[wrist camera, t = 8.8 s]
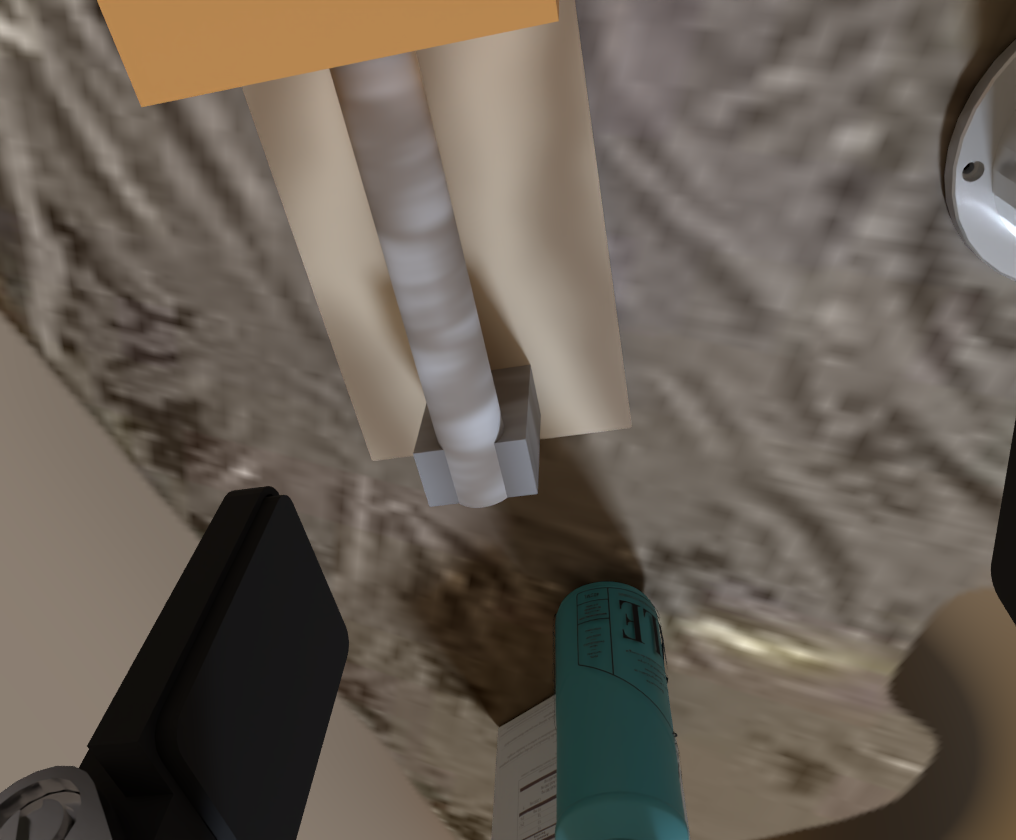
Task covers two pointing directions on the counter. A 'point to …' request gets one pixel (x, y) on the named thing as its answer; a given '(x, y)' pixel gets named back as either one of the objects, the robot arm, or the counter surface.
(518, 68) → the pipe rig
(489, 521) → the counter surface
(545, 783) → the supplement box
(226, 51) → the brown slab
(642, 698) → the beverage bottle
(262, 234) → the counter surface
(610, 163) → the counter surface
